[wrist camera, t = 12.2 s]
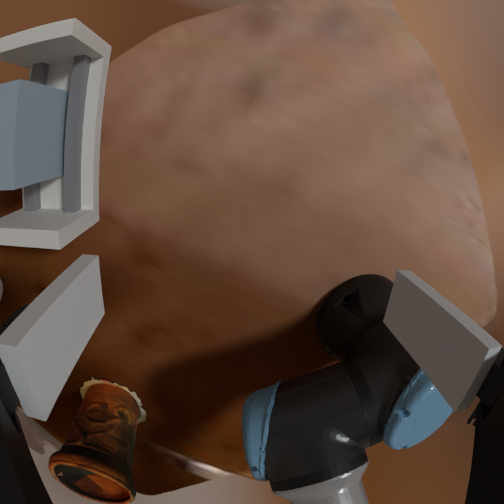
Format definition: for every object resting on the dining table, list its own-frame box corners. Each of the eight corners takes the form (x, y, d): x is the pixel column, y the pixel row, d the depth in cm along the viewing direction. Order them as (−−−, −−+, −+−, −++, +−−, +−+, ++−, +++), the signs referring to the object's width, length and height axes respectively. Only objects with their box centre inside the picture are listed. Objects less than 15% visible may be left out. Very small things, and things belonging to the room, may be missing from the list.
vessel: (146, 380, 49) (125, 477, 30) (153, 428, 53) (141, 512, 35) (72, 368, 47) (32, 452, 28) (87, 416, 52) (63, 493, 33)
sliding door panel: (65, 174, 35) (14, 190, 23) (43, 175, 34) (-11, 190, 23) (71, 91, 31) (20, 78, 20) (47, 95, 31) (-6, 85, 19)
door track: (99, 220, 39) (60, 249, 28) (30, 218, 38) (-17, 243, 26) (111, 46, 31) (75, 18, 20) (39, 58, 30) (-9, 41, 19)
